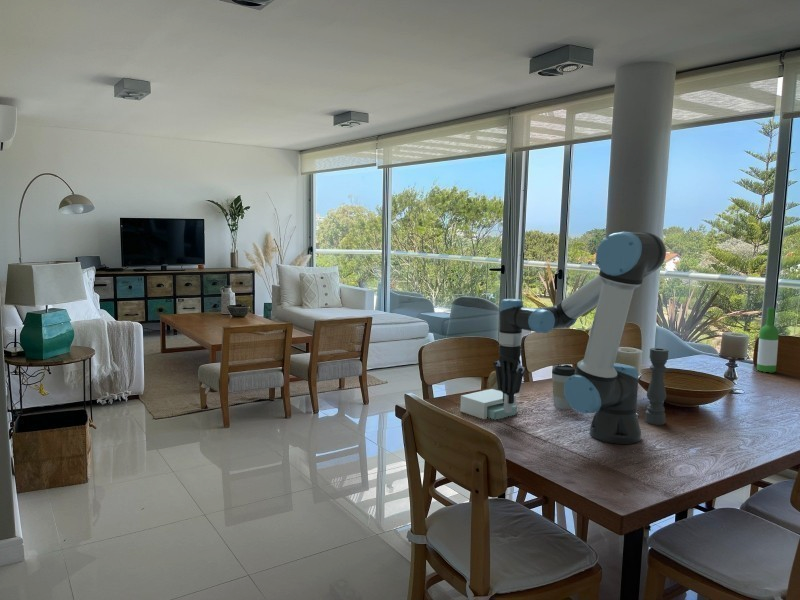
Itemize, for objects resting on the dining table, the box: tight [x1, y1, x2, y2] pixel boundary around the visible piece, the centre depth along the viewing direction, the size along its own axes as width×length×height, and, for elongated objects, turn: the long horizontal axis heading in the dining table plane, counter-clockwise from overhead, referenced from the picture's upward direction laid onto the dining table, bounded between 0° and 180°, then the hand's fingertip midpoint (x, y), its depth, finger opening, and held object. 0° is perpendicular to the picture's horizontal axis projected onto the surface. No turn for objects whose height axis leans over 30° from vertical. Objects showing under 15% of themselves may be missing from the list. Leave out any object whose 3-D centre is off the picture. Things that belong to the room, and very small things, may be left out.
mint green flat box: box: [487, 403, 518, 421], centre depth 210 cm, size 10×11×3 cm
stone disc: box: [486, 370, 502, 392], centre depth 234 cm, size 10×4×10 cm, turn 125°
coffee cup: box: [551, 364, 576, 410], centre depth 219 cm, size 9×9×15 cm
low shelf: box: [460, 389, 517, 420], centre depth 213 cm, size 12×16×6 cm
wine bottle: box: [756, 307, 780, 374], centre depth 280 cm, size 8×8×30 cm
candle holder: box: [644, 347, 669, 426], centre depth 202 cm, size 6×6×25 cm
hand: (507, 411), depth 206 cm, fingers closed
